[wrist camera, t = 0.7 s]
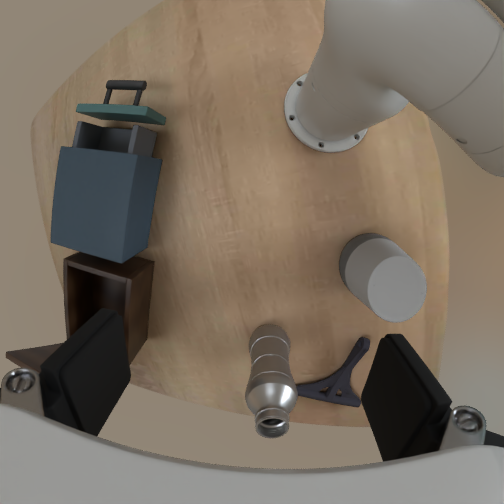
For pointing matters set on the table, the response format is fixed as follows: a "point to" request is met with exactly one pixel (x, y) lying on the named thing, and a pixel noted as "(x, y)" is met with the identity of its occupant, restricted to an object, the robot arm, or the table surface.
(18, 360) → the lid
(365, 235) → the smart speaker
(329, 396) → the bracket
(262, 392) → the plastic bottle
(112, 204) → the cabinet
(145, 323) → the chest
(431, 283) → the table surface
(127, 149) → the drawer
